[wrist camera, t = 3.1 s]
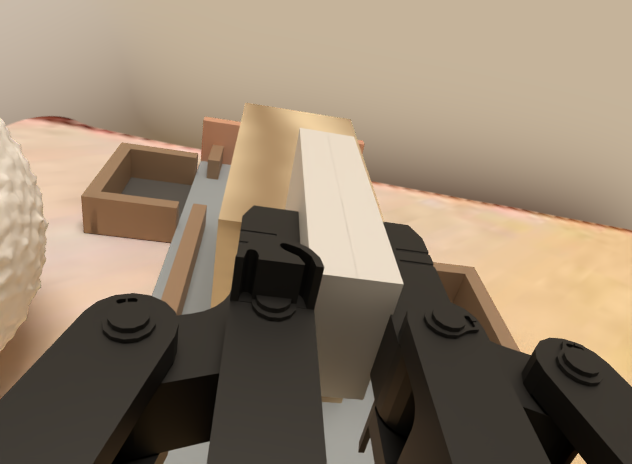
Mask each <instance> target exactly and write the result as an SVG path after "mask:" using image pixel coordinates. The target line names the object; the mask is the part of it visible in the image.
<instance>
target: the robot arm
mask: <svg viewBox="0 0 632 464" xmlns="http://www.w3.org/2000/svg"><path fill="white" fill-rule="evenodd" d="M370 379H371V383H372V388H373V394H374V402H373V405H372V407H371V410H370V413H369V416H368V418H367V421H366V424H365V427H364V429H363V432H362V435H361V438H360V440H359V449H358V453H364V452H365V449H366V447H367V444H368V442H369V439H371V445H372V451H373V457H374V463H375V464H571V462H572V461H573V459H574V458H575V457H576V455H577V454H578V453H579V454H580V456H581V457H582V458H583V459H584V461H585V462H586V463H587V464H632V387H631V386H630V385H629V384H628V383H627V382H626V381H625V380H624V379H623V378H622V377H621V376H620V375H619V374H618V373H617V372H616V371H615V370H614V369H613V368H612V367H611V366H610V365H609V364H608V363H607V362H606V361H604V360H603V359H602V358H601V357H600V356H598V355H597V354H596V353H594V352H593V351H591V350H589V349H587V348H585V347H584V346H582V345H580V344H578V343H575V342H572V341H568V340H565V339H558V338H548V339H545V340H542V341H540V342H539V343H538V345H537V346H536V348H535V350H534V351H533V353H532V355H528V354H525V353H522V352H519V351H516V350H514V349H511V348H508V347H505V346H502V345H499V344H496V343H494V342H492V341H490V340H489V338H488V336H487V334H486V332H485V330H484V328H483V327H482V325H481V324H480V323H479V321H478V320H477V319H476V317H474V316H473V315H472V314H470V313H469V312H468V311H467V310H465V309H464V308H462V307H460V306H458V305H456V304H453V303H451V302H450V300H449V297H448V295H447V293H446V291H445V289H444V286H443V284H442V282H441V280H440V277H439V275H438V273H437V271H436V268H435V267H433V262H432V259H431V257H430V255H428V250H427V248H426V246H425V244H424V241H423V239H422V238H421V237H420V236H419V235H418V234H417V233H416V232H415V231H414V230H413V229H412V228H411V227H410V226H408V225H403V224H395V223H388V222H383V221H382V218H381V215H380V212H379V209H378V206H377V203H376V200H375V197H374V194H373V191H372V188H371V185H370V182H369V179H368V176H367V174H366V171H365V168H364V165H363V162H362V159H361V156H360V153H359V150H358V147H357V144H356V141H355V138H354V137H353V136H347V135H341V134H335V133H329V132H323V131H317V130H311V129H305V128H300V129H299V135H298V140H297V146H296V151H295V157H294V162H293V168H292V173H291V179H290V184H289V190H288V196H287V201H286V207H285V210H284V209H277V208H270V207H263V206H256V205H253V206H252V207H251V208H250V209H249V210H248V211H247V212H246V213H245V214H244V215H243V216H242V223H241V230H240V237H239V243H238V250H237V254H236V256H235V264H234V272H233V279H232V287H231V291H230V294H229V295H228V296H227V297H226V299H225V300H224V301H223V302H221V303H220V304H218V305H217V306H215V307H213V308H210V309H208V310H205V311H201V312H197V313H192V314H184V315H176V312H175V311H174V310H173V309H172V308H171V307H170V306H169V305H168V304H167V303H166V302H165V301H162V300H160V299H158V298H155V297H153V296H150V295H143V294H135V293H131V294H121V295H114V296H111V297H108V298H106V299H103V300H100V301H97V302H96V303H95V304H93V305H92V306H91V307H89V308H88V309H86V310H85V311H84V312H83V313H82V314H81V315H80V316H79V317H78V318H77V319H76V320H75V321H74V322H73V323H72V325H71V326H70V327H69V328H68V329H67V330H66V331H65V332H64V333H63V334H62V335H61V336H60V337H59V338H58V339H57V340H56V341H55V342H54V344H53V345H52V346H51V347H50V348H49V349H48V350H47V351H46V352H45V353H44V354H43V355H42V356H41V357H40V358H39V359H38V360H37V361H36V363H35V364H34V365H33V366H32V367H31V368H30V369H29V370H28V371H27V372H26V373H25V374H24V375H23V376H22V377H21V378H20V379H19V380H18V382H17V383H16V384H15V385H14V386H13V387H12V388H11V389H10V390H9V391H8V392H7V393H6V394H5V395H4V396H3V397H2V398H1V399H0V464H163V463H164V461H165V459H166V457H167V455H168V452H169V451H171V450H175V449H179V448H184V447H188V446H192V445H196V444H201V443H205V442H209V441H210V443H209V450H208V457H207V464H327V458H326V446H325V434H324V422H323V410H322V398H321V396H323V397H335V398H346V399H358V400H363V399H364V396H365V394H366V391H367V388H368V385H369V382H370Z"/></svg>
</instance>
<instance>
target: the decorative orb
mask: <svg viewBox="0 0 632 464" xmlns="http://www.w3.org/2000/svg"><path fill="white" fill-rule="evenodd" d="M48 224H49V223H48V222H47V221H46V220H45V218H44V216H43V202H42V193H41V192H40V189H39V187H38V186H37V185H36V176H35V175H34V174H33V173H32V172H31V170H30V165H29V161H28V160H27V159H26V158H25V157H24V155H23V154H22V152H21V144H19V143H18V142H17V141H15V140H14V139H13V138H11V136H10V131H9V129H8V128H7V127H6V125H5V123H4V121H3V120H2V119H0V351H1V350H3V349H4V348H5V345H6V343H7V342H8V341H9V340H11V339H12V338H13V337H14V335H15V332H16V330H17V329H18V327H19V326H20V325H21V324H22V323H23V322H24V321H25V320H26V319H27V313H28V306H29V304H30V303H31V301H32V299H33V298H34V296H35V295H36V293H37V290H38V289H40V288H41V284H40V283H41V281H40V279H39V277H40V275H41V273H42V268H43V265H44V263H45V261H46V257H45V255H44V253H45V251H46V249H45V245H46V240H47V239H46V236H45V231H46V229H47V227H48Z"/></svg>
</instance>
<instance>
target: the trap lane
mask: <svg viewBox="0 0 632 464" xmlns="http://www.w3.org/2000/svg"><path fill="white" fill-rule="evenodd" d="M240 124H241V122H237V121H231V120H224V119H217V118H211V117H205V118H204V120H203V137H202V152H201V162H200V165H199V167H198V170H197V162H198V153H191V152H184V151H177V150H170V149H163V148H156V147H149V146H142V145H135V144H128V143H121V144H120V146H119V147H118V148H117V150H116V151H115V152H114V154H113V155H112V156H111V158H110V159H109V160H108V161H107V163H106V164H105V165H104V167H103V168H102V169H101V171H100V172H99V173H98V175H97V176H96V177H95V179H94V180H93V181H92V183H91V184H90V185H89V187H88V188H87V189H86V190H85V192H84V193H83V194H82V196H81V200H82V213H83V227H84V233H93V234H101V235H110V236H118V237H127V238H135V239H144V240H152V241H161V242H169V243H171V245H170V247H169V250H168V253H167V256H166V258H165V261H164V264H163V267H162V269H161V272H160V275H159V278H158V280H157V283H156V286H155V289H154V291H153V294H152V296H153V297H155V298H158V299H160V300H162V301H165V302H166V303H167V304H168V305H169V306H170V307H171V308H172V309H173V310H174V311H175V312H176V315H184V314H192V313H197V312H201V311H205V310H208V309H210V308H211V297H212V286H213V275H214V263H215V252H216V241H217V229H218V219H219V214H220V210H221V206H222V201H223V197H224V193H225V188H226V184H227V180H228V176H229V171H230V167H231V163H232V158H233V154H234V150H235V145H236V141H237V137H238V132H239V128H240ZM358 143H359V146H360V149H361V152H362V153H363V149H364V142H363V141H362V140H358ZM433 267H435V268H436V271H437V273H438V275H439V277H440V280H441V282H442V284H443V286H444V289H445V291H446V293H447V295H448V297H449V300H450V302H451V303H453V304H456V305H458V306H460V307H462V308H464V309H465V310H467V311H468V312H469V313H470V314H472V315H473V316H474V317H476V319H477V320H478V321H479V323H480V324H481V325H482V327H483V328H484V330H485V332H486V334H487V336H488V338H489V340H490V341H492V342H494V343H496V344H499V345H502V346H505V347H508V348H511V349H514V350H516V351H519V352H520V350H519V348H518V346H517V345H516V343H515V341H514V339H513V337H512V336H511V334H510V332H509V330H508V328H507V326H506V325H505V323H504V321H503V319H502V317H501V315H500V314H499V312H498V310H497V308H496V306H495V305H494V303H493V301H492V299H491V297H490V295H489V294H488V292H487V290H486V288H485V286H484V285H483V283H482V281H481V279H480V277H479V275H478V274H477V272H476V270H475V268H474V267H468V266H460V265H452V264H443V263H435V262H433ZM373 402H374V394H373V388H372V383H371V379H370V382H369V385H368V388H367V391H366V394H365V396H364V399H363V400H358V399H346V398H343V400H342V403H330V402H322V410H323V422H324V434H325V446H326V458H327V464H375V463H374V457H373V451H372V445H371V439H369V442H368V444H367V447H366V449H365V452H364V453H358V449H359V440H360V438H361V435H362V432H363V429H364V427H365V424H366V421H367V418H368V416H369V413H370V410H371V407H372V405H373ZM209 443H210V441H209V442H205V443H201V444H196V445H192V446H188V447H184V448H179V449H175V450H171V451H169V452H168V455H167V457H166V459H165V461H164V463H163V464H207V457H208V450H209Z"/></svg>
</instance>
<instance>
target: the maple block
mask: <svg viewBox="0 0 632 464" xmlns="http://www.w3.org/2000/svg"><path fill="white" fill-rule="evenodd" d="M300 128H305V129H311V130H317V131H323V132H329V133H335V134H341V135H347V136H353V137H354V138H355V141H356V144H357V147H358V150H359V153H360V156H361V159H362V162H363V165H364V168H365V171H366V174H367V176H368V179H369V182H370V185H371V188H372V191H373V194H374V197H375V200H376V203H377V206H378V209H379V212H380V215H381V218H382V221H383V222H384V219H383V216H382V213H381V210H380V207H379V204H378V201H377V198H376V195H375V192H374V189H373V186H372V183H371V180H370V177H369V174H368V171H367V168H366V165H365V162H364V158H363V155H362V152H361V149H360V146H359V143H358V140H357V138H356V134H355V131H354V128H353V125H352V122H351V120H350V119H345V118H338V117H332V116H326V115H319V114H313V113H306V112H300V111H294V110H288V109H281V108H275V107H269V106H262V105H255V104H249V103H245V106H244V111H243V116H242V119H241V124H240V128H239V132H238V137H237V141H236V145H235V150H234V154H233V158H232V163H231V167H230V171H229V176H228V180H227V184H226V188H225V193H224V197H223V201H222V206H221V210H220V214H219V219H218V229H217V241H216V252H215V263H214V275H213V286H212V297H211V308H213V307H215V306H217V305H218V304H220V303H221V302H223V301H224V300H225V299H226V297H227V296H228V295H229V294H230V291H231V287H232V279H233V272H234V264H235V256H236V254H237V250H238V243H239V237H240V230H241V223H242V216H243V215H244V214H245V213H246V212H247V211H248V210H249V209H250V208H251V207H252V206H253V205H256V206H263V207H270V208H277V209H284V210H285V207H286V201H287V196H288V190H289V184H290V179H291V173H292V168H293V162H294V157H295V151H296V146H297V140H298V135H299V129H300ZM321 398H322V402H330V403H342V400H343V398H335V397H323V396H321Z"/></svg>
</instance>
